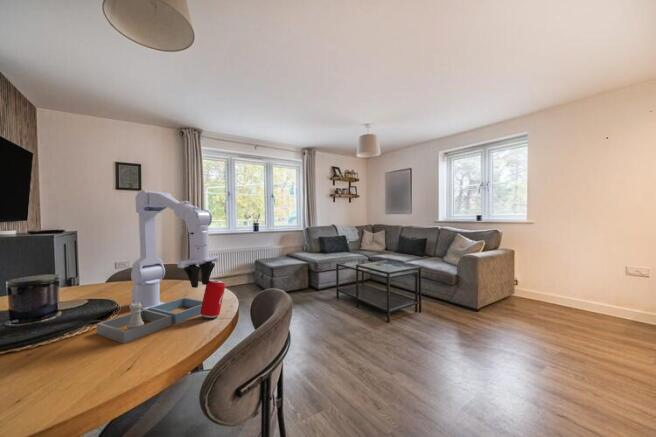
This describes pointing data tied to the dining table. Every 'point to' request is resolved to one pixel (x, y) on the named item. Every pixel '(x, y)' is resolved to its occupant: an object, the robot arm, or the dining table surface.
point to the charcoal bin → (112, 331)
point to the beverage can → (212, 298)
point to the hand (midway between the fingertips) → (200, 285)
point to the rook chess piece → (135, 316)
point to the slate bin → (178, 303)
